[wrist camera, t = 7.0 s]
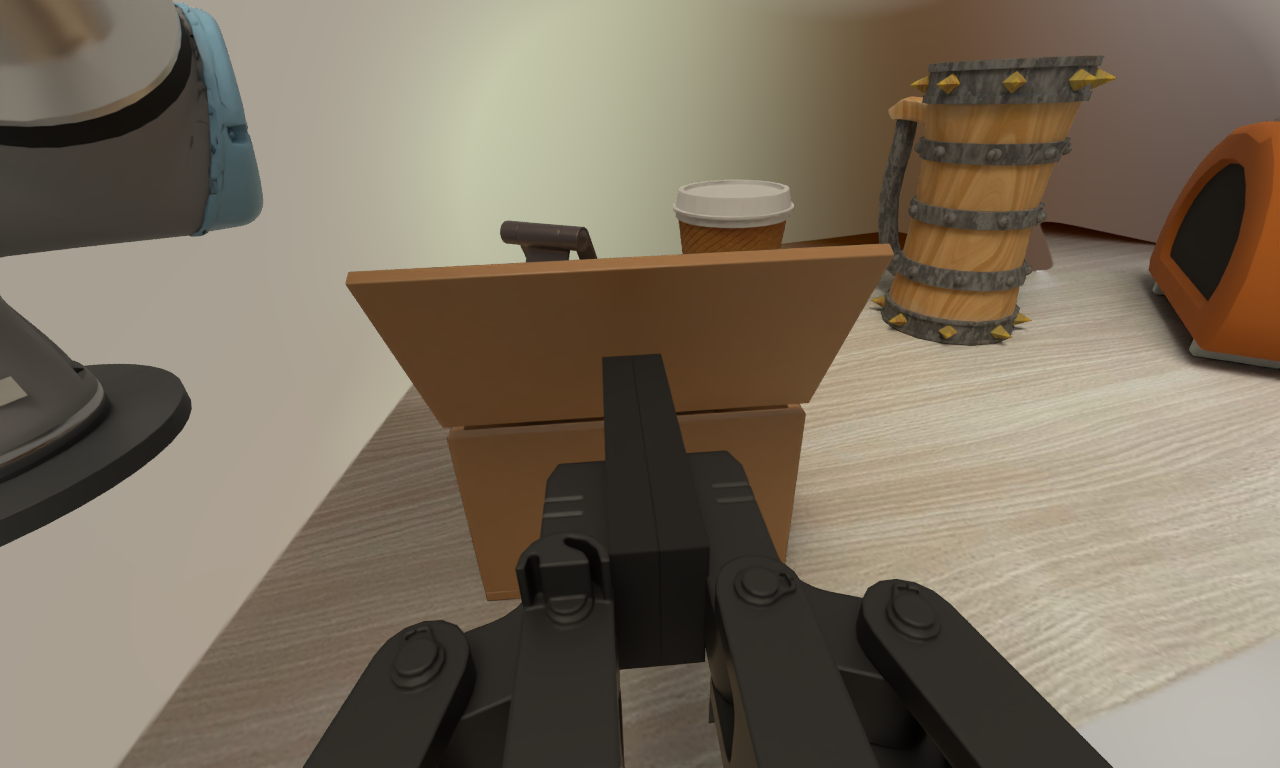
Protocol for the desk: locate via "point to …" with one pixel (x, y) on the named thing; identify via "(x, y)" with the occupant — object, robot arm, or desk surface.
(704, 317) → the flap
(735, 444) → the carton
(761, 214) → the disposable coffee cup
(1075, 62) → the mug
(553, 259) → the tablet stand
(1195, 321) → the alarm clock
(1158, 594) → the desk surface
